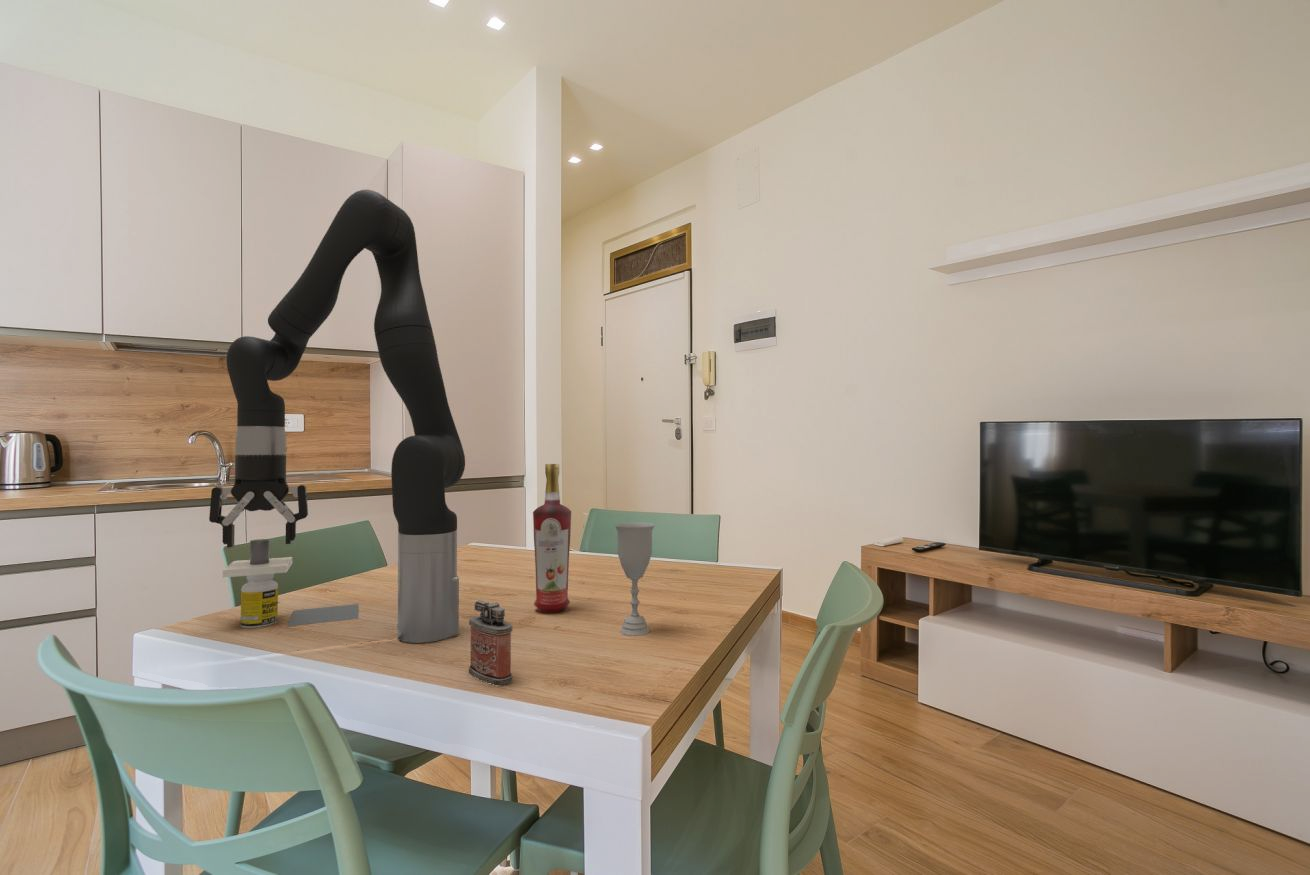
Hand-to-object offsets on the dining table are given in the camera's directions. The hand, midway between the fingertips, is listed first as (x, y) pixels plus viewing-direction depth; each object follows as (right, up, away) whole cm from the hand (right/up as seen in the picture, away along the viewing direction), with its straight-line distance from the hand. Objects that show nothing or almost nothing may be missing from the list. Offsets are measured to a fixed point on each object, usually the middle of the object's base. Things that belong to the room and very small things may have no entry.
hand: (260, 545), depth 105 cm
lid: (0, -4, 0) cm, 4 cm away
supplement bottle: (0, -14, 0) cm, 14 cm away
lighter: (+47, -14, -23) cm, 54 cm away
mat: (+9, -14, +5) cm, 17 cm away
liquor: (+49, -15, +10) cm, 52 cm away
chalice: (+66, -14, -3) cm, 67 cm away
